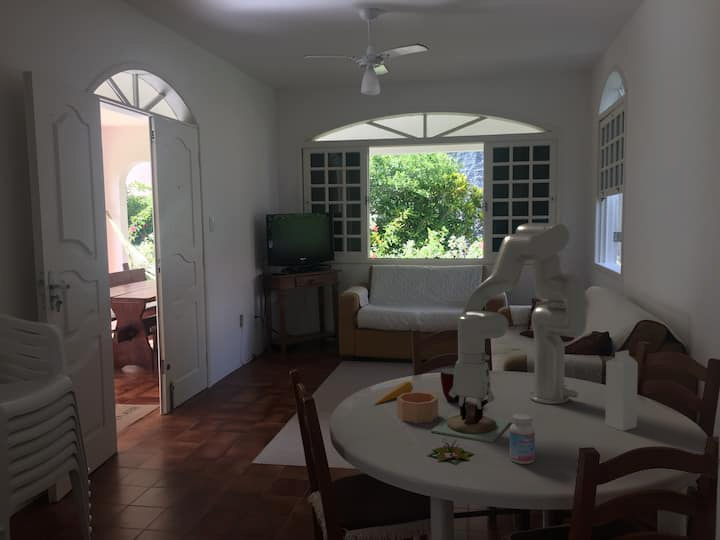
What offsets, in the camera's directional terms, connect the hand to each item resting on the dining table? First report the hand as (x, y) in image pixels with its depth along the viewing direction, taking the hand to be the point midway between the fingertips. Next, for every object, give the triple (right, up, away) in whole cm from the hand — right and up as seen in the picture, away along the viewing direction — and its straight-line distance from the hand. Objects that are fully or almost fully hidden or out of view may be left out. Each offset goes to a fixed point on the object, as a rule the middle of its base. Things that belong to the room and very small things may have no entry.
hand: (471, 419), depth 174 cm
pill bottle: (+8, -4, -24) cm, 26 cm away
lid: (0, -2, 0) cm, 2 cm away
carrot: (-22, -1, +30) cm, 37 cm away
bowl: (-15, -2, +11) cm, 18 cm away
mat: (0, -2, 0) cm, 2 cm away
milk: (+43, -2, -1) cm, 43 cm away
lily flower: (-9, -5, -20) cm, 22 cm away
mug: (0, -1, +26) cm, 26 cm away
